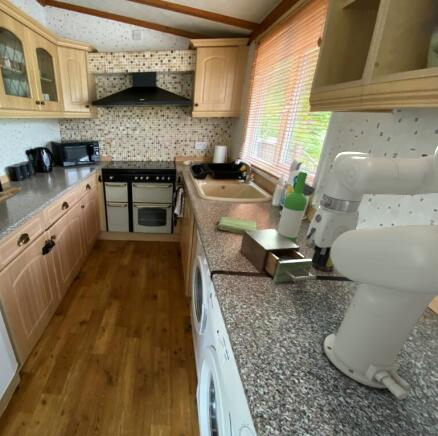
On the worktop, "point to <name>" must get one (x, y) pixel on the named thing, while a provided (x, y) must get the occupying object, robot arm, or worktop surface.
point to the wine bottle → (293, 210)
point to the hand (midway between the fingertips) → (318, 264)
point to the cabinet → (264, 245)
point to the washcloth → (236, 225)
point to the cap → (285, 258)
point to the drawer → (288, 266)
